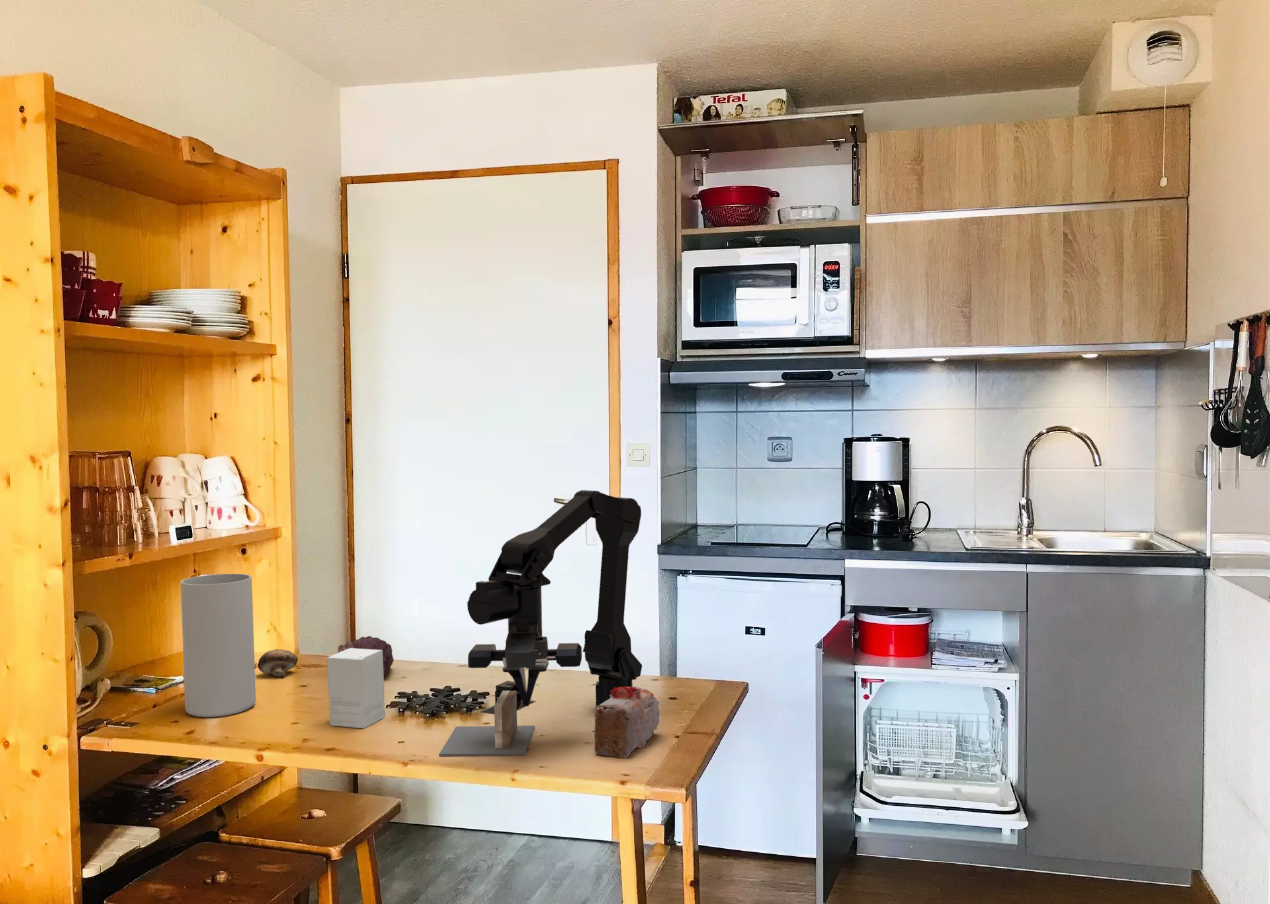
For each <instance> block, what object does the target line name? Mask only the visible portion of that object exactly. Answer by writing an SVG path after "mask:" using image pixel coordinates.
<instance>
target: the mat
mask: <svg viewBox="0 0 1270 904" xmlns="http://www.w3.org/2000/svg"><path fill="white" fill-rule="evenodd" d="M535 728H536V725H517V732H516V734H515V737H514V739H513V741H512V744H511V746H510V748H495V725H486V726H485V725H480V726H479V725H472V726H471V725H469V726H466V725H465V726H464V725H463V726H455V728H454V729H453V731H452V732H451V734H450V736H449V737H448V738H447V740H446V741H445V744H444V745H443V747H442V749H441V750H440V752H439V754H438V756H439V757H491V756H494V757H495V756H496V757H497V756H499V757H500V756H505V757H506V756H508V757H509V756H525V755H526V753H527V751H528V748H529V746H530V745H529V744H530V742H531V739H532V738H533V737H532V736H533V734H534V731H535Z"/></svg>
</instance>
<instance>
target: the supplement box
mask: <svg viewBox="0 0 1270 904" xmlns="http://www.w3.org/2000/svg"><path fill="white" fill-rule="evenodd" d="M326 663H327V681H328V682H327V685H328V687H327V688H328V690H327V691H328V710H329V711H328V712H329V714H328V715H329V726H331V727H332V726H334V727H343V728H344V727H345V728H353V729H354V728H355V729H365V728H367V727H369V726H371V725H373V724H374V723H377V722H378V721H380V720H383V719H384V718H385V717H386V708H385V705H386V704H385V702H386V701H385V676H384V675H385V674H383V650H372V649H356V648H349V649H347V650H344V651H341V652H339V653H338V652H337V653H335V654H332V655H330V656H328V657H326Z"/></svg>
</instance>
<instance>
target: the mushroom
mask: <svg viewBox="0 0 1270 904" xmlns="http://www.w3.org/2000/svg"><path fill="white" fill-rule="evenodd" d="M298 661H299V658H298V656H297V655H296V654H295V653H294V652H293V651H291V650H287V649H278V648H275V649H271V650H268V651H266V652H265V653H263V654H262V655H261V657H260V658H259V659H258V663H257V669H258V670H259V671H260V672H261V673H263V674H267V675H269V674H271V675H272V676H275V677H277V678H283V677H286V676H287V675H286V672H288V671H289V670H290V671H291V670H292V669H294V668H295V667H296V665H297V663H298Z"/></svg>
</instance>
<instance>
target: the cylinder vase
mask: <svg viewBox="0 0 1270 904" xmlns="http://www.w3.org/2000/svg"><path fill="white" fill-rule="evenodd" d="M252 577H253V576H252V575H249V574H246V573H220V574H219V573H218V574H207V575H200V576H199V575H198V576H192V577H189V578H184V579H182V580H181V581H180V604H181V626H182V627H181V628H182V629H181V630H182V653H183V681H184V684H183V686H184V710H185V712H186V713H187V714H189V715H190V716H192V717H197V718H198V717H199V718H218V717H226V716H227V717H228V716H231V715H236V714H239V713H243V712H244V711H247V710H249V709H251V708H252V707H253V706H254V705H255V704H256V701H257V699H256V698H257V696H256V695H257V694H256V692H257V689H256V665H255V663H256V661H255V639H254V638H255V636H254V634H255V633H254V610H253V609H254V606H253V582H252V581H253V579H252Z"/></svg>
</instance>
